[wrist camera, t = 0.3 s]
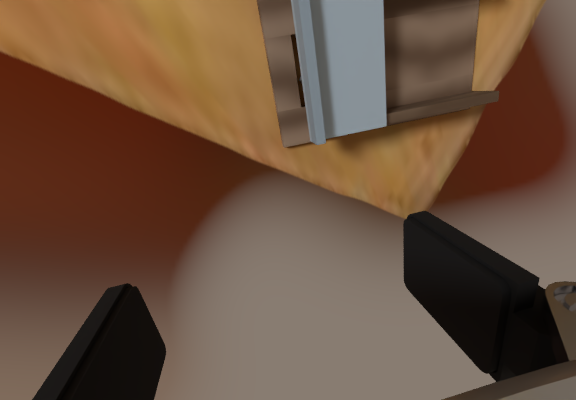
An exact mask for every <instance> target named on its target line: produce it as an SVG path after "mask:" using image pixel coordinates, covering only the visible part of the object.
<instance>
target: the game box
mask: <svg viewBox="0 0 576 400" xmlns="http://www.w3.org/2000/svg"><path fill="white" fill-rule="evenodd" d="M257 4H258V9H259V15H260V20H261V26H262V32H263V37H264V43H265V48H266V54H267V60H268V65H269V71H270V77H271V82H272V88H273V93H274V99H275V105H276V110H277V116H278V121H279V127H280V133H281V138H282V144H283V147H289V146H294V145H299V144H303V143H308V142H311V141H310V136H309V129H308V121H307V114H306V107H305V106H303V107H301V103H300V96H299V89H298V82H297V75H296V68H295V61H294V54H293V47H292V40H291V36H294V35H296V34H295V27H294V20H293V12H292V5H291V0H257ZM383 7H384V45H385V83H386V121H387V126H389V125H394V124H399V123H403V122H408V121H413V120H418V119H423V118H427V117H432V116H437V115H442V114H446V113H451V112H456V111H461V110H465V109H470V107H472V106H477V105H482V104H487V103H491V102H496V101H498V97H499V91H471V89H472V78H473V67H474V55H475V44H476V33H477V22H478V11H479V0H383Z"/></svg>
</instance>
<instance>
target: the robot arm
mask: <svg viewBox="0 0 576 400" xmlns="http://www.w3.org/2000/svg"><path fill="white" fill-rule="evenodd" d="M538 282H539V277H537V276H535V275H534V274H532V273H530V272H528V271H527V270H525V269H523V268H522V267H520V266H518V265H517V264H515V263H513V262H511V261H510V260H508V259H507V258H505V257H503V256H501V255H499V254H498V253H496V252H495V251H493V250H491V249H489V248H488V247H486V246H485V245H483V244H481V243H479V242H478V241H476V240H474V239H473V238H471V237H469V236H468V235H466V234H464V233H463V232H461V231H459V230H457V229H456V228H454V227H452V226H451V225H449V224H447V223H446V222H444V221H442V220H441V219H439V218H437V217H435V216H434V215H432V214H431V213H429V212H427V211H422V212H417V213H413V214H409V215H408V217H407V219H406V220H405V221H404V283H405V285H406V287H407V289H408V290H409V291H410V293H411V294H412V295H413V296H414V297H415V298H416V299H417V300H418V301H419V303H420V304H421V305H422V306H423V307H424V308H425V309H426V310H427V311H428V313H429V314H430V315H431V316H432V317H433V318H434V319H435V320H436V321H437V323H438V324H439V325H440V326H441V327H442V328H443V329H444V330H445V331H446V333H447V334H448V335H449V336H450V337H451V338H452V339H453V340H454V341H455V343H456V344H457V345H458V346H459V347H460V348H461V349H462V350H463V351H464V352H465V354H466V355H467V356H468V357H469V358H470V359H471V360H472V361H473V362H474V364H475V365H476V366H477V367H478V368H479V369H480V370H481V371H482V372H484V373H489V374H490V375H491V376H492V378H493V379H494V380H496V382H495V383H492V384H490V385H486V386H483V387H480V388H477V389H473V390H471V391H467V392H464V393H461V394H458V395H455V396H452V397H449V398H445V399H442V400H576V282H566V281H564V282H555V283H552V284H550V285H548V287H547V288H546V289H543V288H542V287H540V286H539V285H538ZM165 355H166V348H165V344H164V342H163V340H162V338H161V336H160V333H159V331H158V329H157V327H156V325H155V323H154V321H153V319H152V317H151V315H150V312H149V310H148V308H147V306H146V304H145V302H144V300H143V298H142V295H141V293H140V291H139V290H138V288H137V287H136V286H134V287H132V285H130V284H128V283H127V284H123V285H119V286H115V287H111V288H108V289H107V290H106V291H105V293H104V294H103V296H102V297H101V299H100V300H99V302H98V303H97V305H96V306H95V308H94V309H93V310H92V312H91V313H90V315H89V316H88V318H87V319H86V321H85V322H84V324H83V325H82V327H81V328H80V330H79V331H78V333H77V334H76V336H75V337H74V339H73V340H72V342H71V343H70V345H69V346H68V347H67V349H66V351H65V352H64V353H63V355H62V356H61V358H60V359H59V361H58V362H57V364H56V365H55V367H54V368H53V370H52V371H51V373H50V374H49V376H48V377H47V379H46V380H45V382H44V383H43V385H42V386H41V388H40V389H39V390H38V392H37V394H36V395H35V397H34V398H33V399H32V400H154V397H155V393H156V390H157V386H158V382H159V379H160V375H161V371H162V367H163V364H164V360H165Z"/></svg>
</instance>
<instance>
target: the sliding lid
mask: <svg viewBox="0 0 576 400" xmlns="http://www.w3.org/2000/svg"><path fill="white" fill-rule="evenodd" d="M291 5H292V12H293V20H294V27H295V34H296V41H297V49H298V56H299V63H300V70H301V78H302V85H303V92H304V100H305V107H306V114H307V121H308V129H309V136H310V141H311V142H313V143H315V144H316V145H319V144H324V143H326V139H328V138H333V137H338V136H343V135H347V134H352V133H357V132H362V131H366V130H371V129H376V128H381V127H385V126H387V121H386V83H385V45H384V7H383V0H291Z"/></svg>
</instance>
